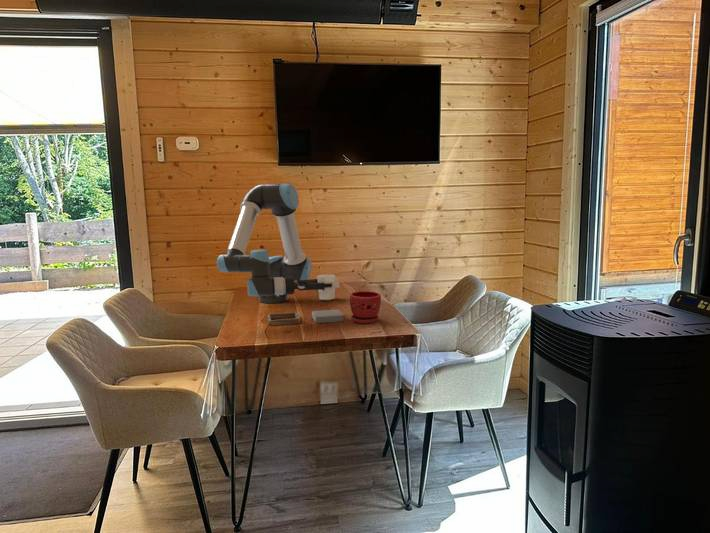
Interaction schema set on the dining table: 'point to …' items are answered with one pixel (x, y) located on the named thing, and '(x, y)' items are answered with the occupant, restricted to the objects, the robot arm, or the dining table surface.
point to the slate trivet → (327, 316)
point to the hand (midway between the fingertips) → (337, 283)
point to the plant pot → (365, 306)
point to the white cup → (328, 292)
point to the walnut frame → (283, 321)
